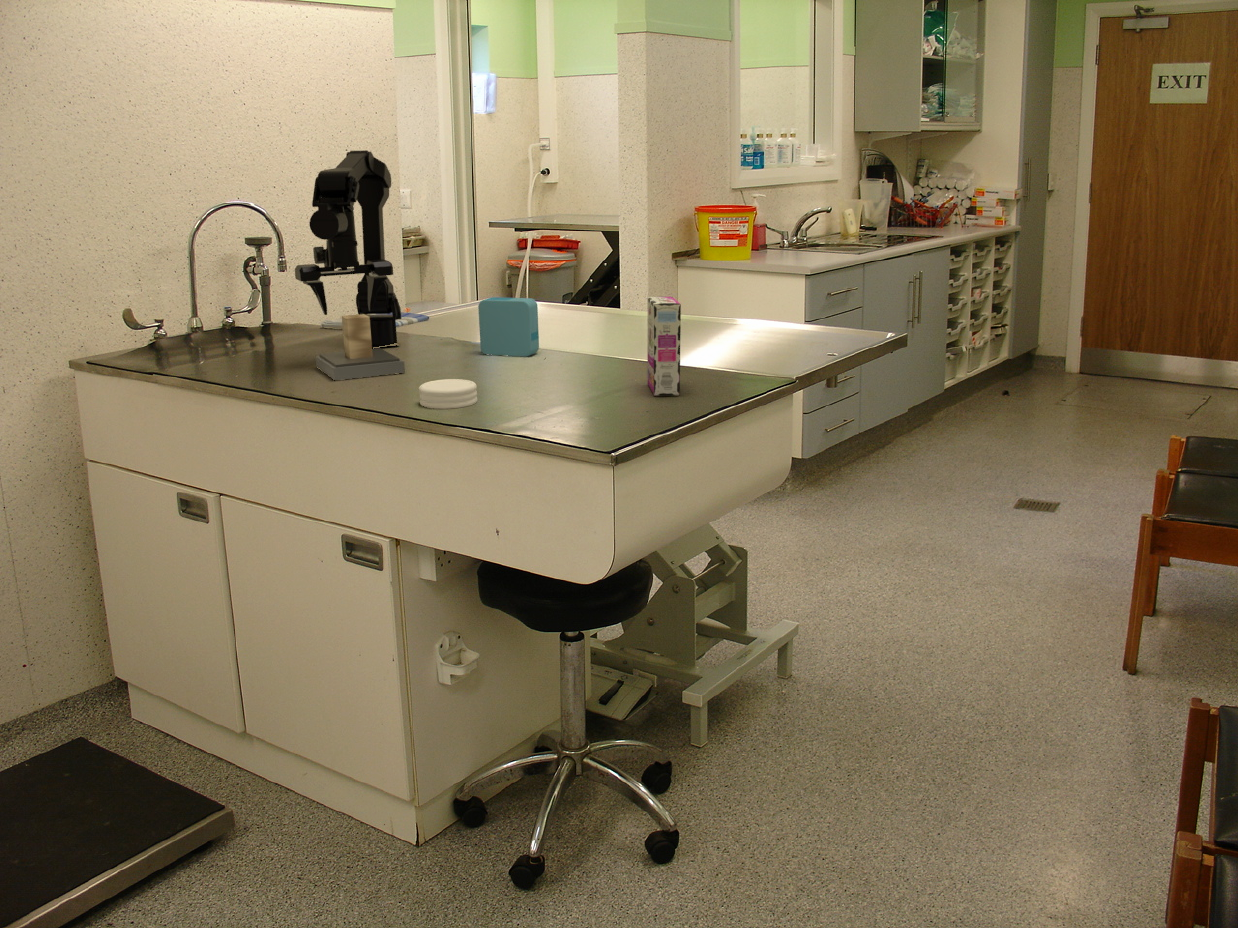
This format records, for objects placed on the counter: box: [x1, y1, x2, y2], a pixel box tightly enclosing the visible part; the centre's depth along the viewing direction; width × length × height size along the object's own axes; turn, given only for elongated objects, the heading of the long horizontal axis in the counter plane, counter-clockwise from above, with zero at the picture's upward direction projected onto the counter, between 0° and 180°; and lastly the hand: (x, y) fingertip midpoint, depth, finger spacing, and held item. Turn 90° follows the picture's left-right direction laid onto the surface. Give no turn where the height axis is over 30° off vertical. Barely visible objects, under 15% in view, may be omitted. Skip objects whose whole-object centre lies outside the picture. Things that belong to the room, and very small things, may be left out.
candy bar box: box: [647, 296, 682, 397], centre depth 194 cm, size 11×5×16 cm, turn 5°
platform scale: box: [315, 348, 406, 381], centre depth 219 cm, size 14×16×3 cm
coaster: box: [418, 378, 478, 410], centre depth 189 cm, size 10×10×4 cm
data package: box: [477, 296, 540, 358], centre depth 233 cm, size 12×4×12 cm, turn 71°
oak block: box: [341, 314, 373, 359], centre depth 217 cm, size 4×4×8 cm
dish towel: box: [320, 311, 430, 328], centre depth 281 cm, size 17×24×3 cm
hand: (348, 312), depth 222 cm, fingers open, 9 cm apart
